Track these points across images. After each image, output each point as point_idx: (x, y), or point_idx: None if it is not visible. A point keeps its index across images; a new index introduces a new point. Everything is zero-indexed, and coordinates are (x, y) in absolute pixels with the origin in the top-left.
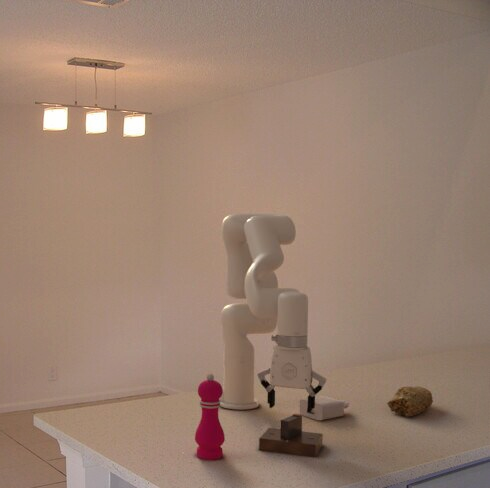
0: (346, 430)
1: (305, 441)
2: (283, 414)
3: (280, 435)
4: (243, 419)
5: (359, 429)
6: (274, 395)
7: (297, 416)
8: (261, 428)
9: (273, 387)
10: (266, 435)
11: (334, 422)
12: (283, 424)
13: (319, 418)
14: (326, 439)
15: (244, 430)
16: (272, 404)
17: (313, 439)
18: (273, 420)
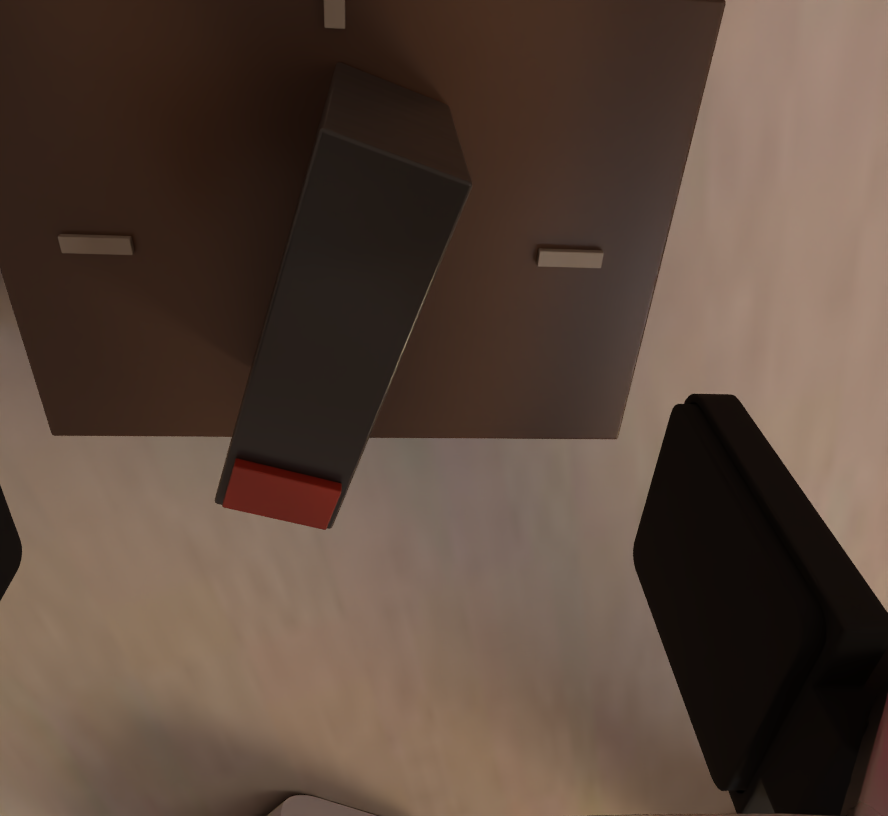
0: (79, 711)
1: (98, 68)
2: (533, 813)
3: (450, 112)
4: None
5: (11, 746)
6: (699, 678)
7: (264, 459)
8: None
9: (871, 798)
10: (632, 157)
11: (210, 795)
12: (413, 143)
13: (303, 807)
14: (126, 517)
15: None
16: (691, 449)
17: (44, 198)
18: (583, 726)
